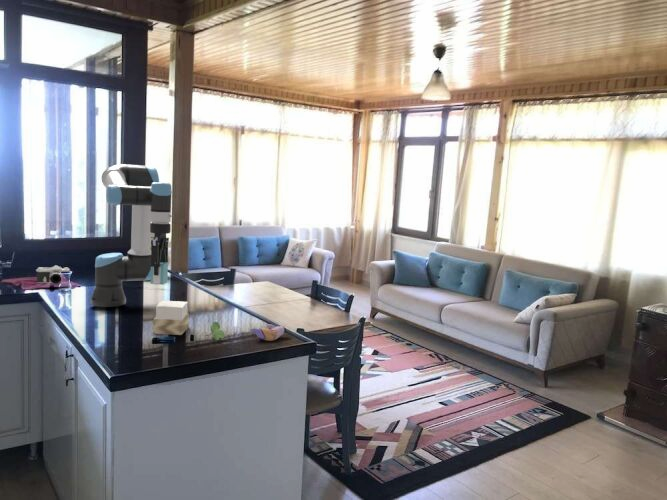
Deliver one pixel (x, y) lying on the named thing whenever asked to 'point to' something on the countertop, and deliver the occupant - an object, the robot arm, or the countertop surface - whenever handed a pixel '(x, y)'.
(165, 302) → the tower top
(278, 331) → the toy
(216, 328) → the seedling
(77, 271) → the countertop surface
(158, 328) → the tower bottom
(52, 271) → the camera
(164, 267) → the teal block
